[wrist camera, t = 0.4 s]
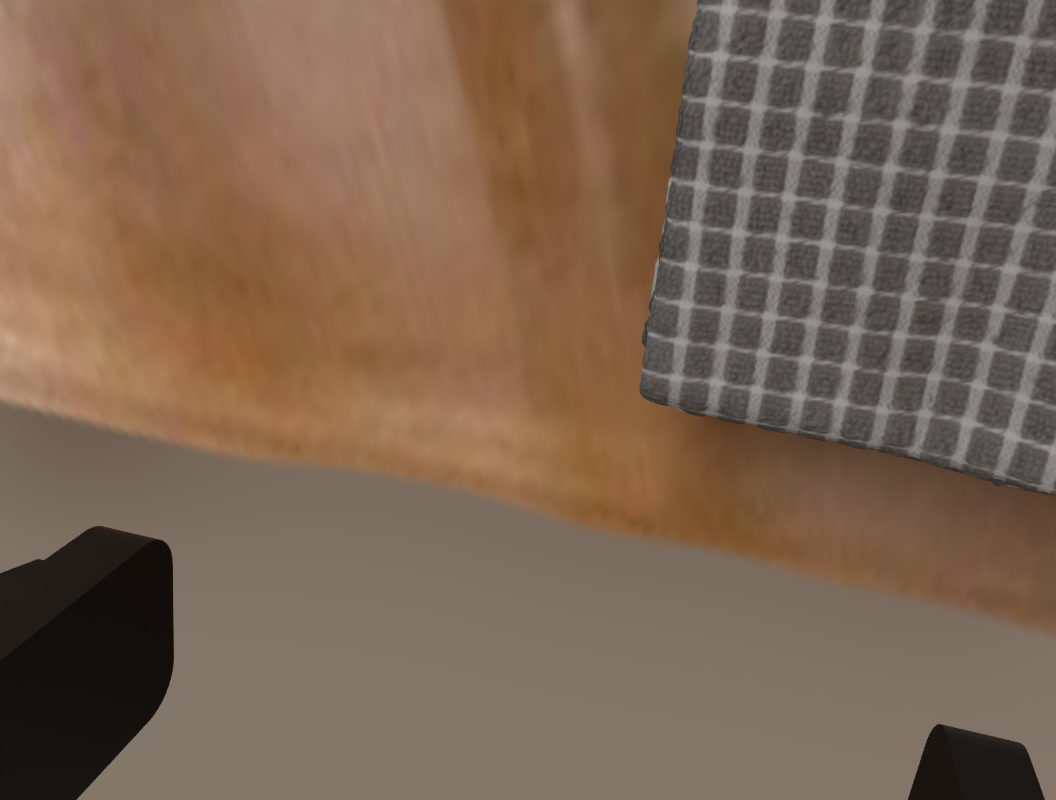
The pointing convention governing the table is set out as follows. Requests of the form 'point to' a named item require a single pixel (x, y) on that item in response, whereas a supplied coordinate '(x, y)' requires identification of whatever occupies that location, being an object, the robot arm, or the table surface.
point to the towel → (867, 230)
